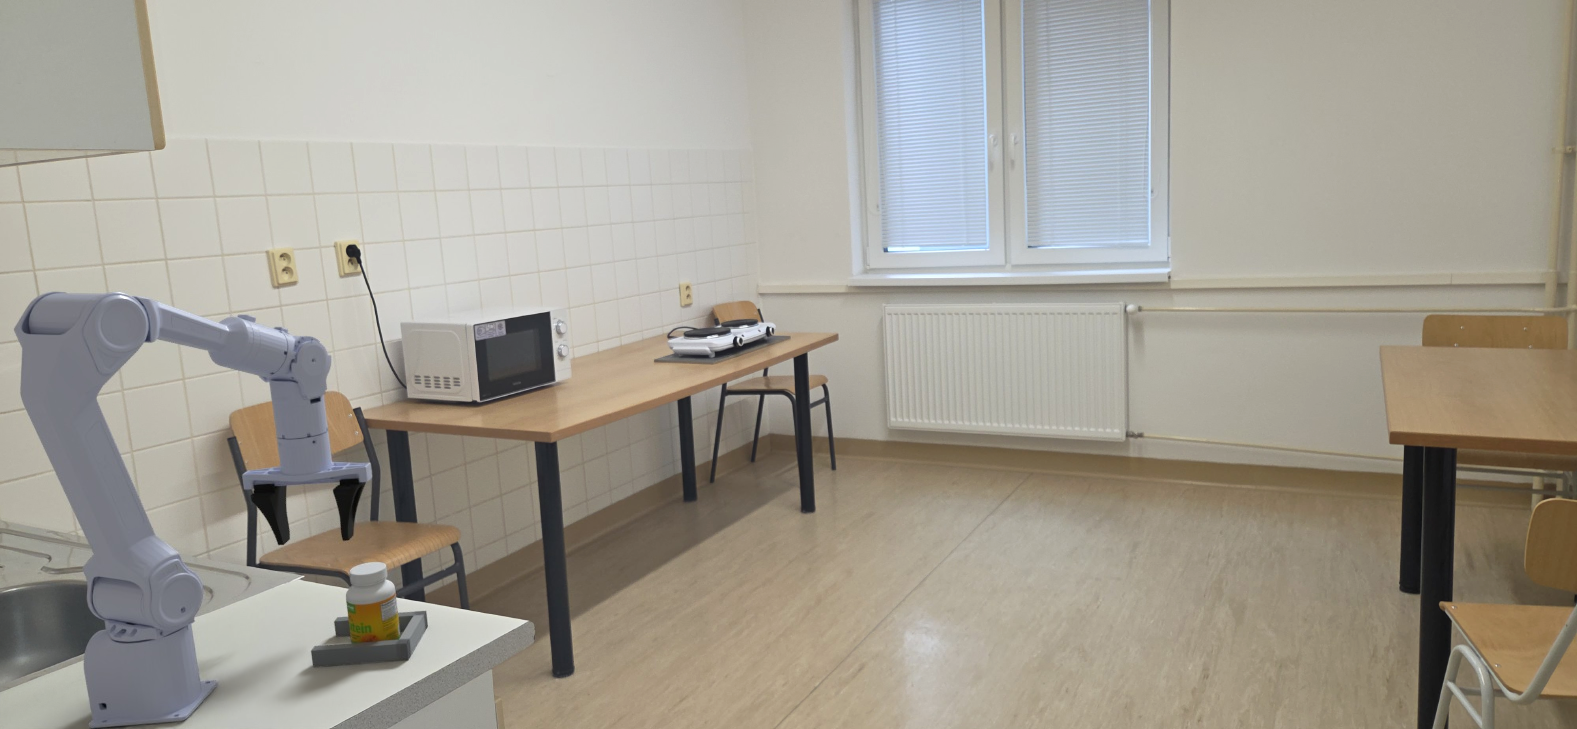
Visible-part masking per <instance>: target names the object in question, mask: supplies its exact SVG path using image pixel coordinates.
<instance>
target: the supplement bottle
mask: <svg viewBox="0 0 1577 729" xmlns="http://www.w3.org/2000/svg"><path fill="white" fill-rule="evenodd" d="M387 578H388V569H387V564H386V563H384V562H379V561H371V562H365V563H361V564H357V565H355V566H353V567H352V568H351V569H350V570H349V581H350V584H351V586H350V587H349V588H348V589H347V591H346V594H345V600H346V603H345V604H346V609H347V611H346V612H347V617H348V620H349V627H350V636H349V637H350V643H361V642H374V641H387V640H399V638H400V637H401V632H400V626H399V617H398V613H399V609H398V602H397V601H398V600H397V594H396V587H395V584H394V583H393V582H392V581H391V580H389V579H387Z"/></svg>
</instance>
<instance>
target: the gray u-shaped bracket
mask: <svg viewBox="0 0 1577 729" xmlns="http://www.w3.org/2000/svg"><path fill="white" fill-rule="evenodd" d="M427 615H428V613H427V610H416V611H405V612H398V617H399V626H400V633H401V634H400V636H401V637H400V638H399V640H387V641H374V642H361V643H351V642H349V643H337V644H325V645H314V646H313V648H312V649H311V650H310V655H311V661H312V662H311V663H312V667H313V668H321V667H332V666H334V667H335V666H347V665H360V664H371V663H385V662H398V661H399V662H400V661H409V660H410V659H411V656H412V654H413V653H414V651H415V649H416V648H417V646H418V644H419V643H420V640H421V639H422V637H423V635H424V634H425V632H426V630H427V628H428V627H429V625H428V623H429V622H428V616H427ZM333 625H334V631H335V637H336V638H339V637H341V638H342V637H343V638H344V637H351V636H350V627H349V620H348V616H338V617H336V618H335V619H334V621H333Z"/></svg>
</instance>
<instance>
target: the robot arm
mask: <svg viewBox="0 0 1577 729" xmlns="http://www.w3.org/2000/svg"><path fill="white" fill-rule="evenodd" d="M256 319H257V317H256V316H253V315H249V314H240V313H239V314H238V315H237V316H229V317H226V318H224V319H221V320H220V321H219V322H218V321H214V320H212V319H208V318H206V317H204V316H200V315H197V314H195V313H192V312H189V311H187V310H186V311H185V310H184V309H181V308H177V307H175V306H171V305H169V304H167V303H163V302H161V301H158V300H156V299H155V300H154V299H152V298H150V297H147V296H139V295H138V296H135V295H131V294H128V293H124V292H117V291H108V292H105V293H90V292H89V293H77V292H75V293H72V292H71V293H68V292H66V291H48V292H45V293H42V294H40V295H38V296H36V297H35V298H33V300H32V301H31V302H29V304H28V306H27V307H26V308H25V310H24V312H23V313H22V315H21V316H20V318H19V320H18V321H17V322H16V325H15V326H14V328H13V331H14V333H15V336H16V338H17V340H18V343H19V345H20V347H21V367H20V368H21V370H20V391H19V393H20V398H21V401H22V404H23V406H24V408H25V412H26V413H27V415H28V417H29V419H30V421H31V424H32V426H33V428H34V430H35V432H36V434H37V436H38V438H39V440H40V443H41V445H42V447H43V449H44V452H45V453H46V456H47V457H48V458H47V459H49V463H50V464H51V466H52V468H53V470H54V473H55V474H56V475H55V476H56V477H57V479H58V481H59V484H60V485H61V487H62V489H63V492H64V495H65V496H66V499H67V501H68V502H69V504H70V506H71V509H72V511H73V513H74V515H75V518H76V520H77V521H78V524H79V525H80V528H81V530H82V532H83V535H84V537H85V538H86V541H87V543H88V545H89V548H90V549H91V552H92V555H91V557H89V559H88V560H87V561H86V563H85V564H84V565H83V566H82V570H81V571H82V572H83V575H84V576H85V579H86V582H87V583H86V585H87V589H86V590H87V591H86V592H87V593H86V602H87V606H88V609H89V611H90V612H91V613H92V614H93V615H94V616H95V617H96V618H97V619H100V620H103V621H104V625H105V626H104V627H105V629H102V630H98V631H97V632H95V633H94V634H93V635H92V636H91V637H90V639H89V641H88V642H87V645H86V647H85V651H84V656H83V672H84V678H85V684H86V690H87V697H88V701H89V707H90V713H91V721H89V722H88V727H89V729H96V728H97V729H98V728H107V727H108V728H109V727H110V728H111V727H122V726H132V725H135V726H136V725H147V724H159V723H172V722H181V721H182V722H183V721H184V720H187V719H188V718H189V716H191V714H192V713H193V712H194V711H195V710H196V709H197V708H198V707H199V706H200V705H201V704H202V702H203V701H204V700H205V699H206V698H207V697H208V696H209V695H210V694H211V693H212V692H213V690H215V688H216V687H217V686H218V685H219V681H218V680H217V679H213V680H201V677H200V672H199V670H200V669H199V664H198V658H197V652H196V644H195V638H194V632H193V625H192V624H193V623H195V621H196V620H195V617H196V615H197V614H198V612H199V610H200V609H201V606H202V603H203V599H204V586H203V585H204V584H203V582H202V580H201V578H200V576H199V575H198V574H197V573H196V572H195V571H193V570H192V569H190V568H189V567H188V566H187V565H186V564H185V563H184V560H183V558H182V556H181V554H180V552H178V551H177V550H176V549H174V548H173V547H172V546H171V545H170V544H168V543H167V542H165V541H164V540H163V539H162V538H160V537H159V536H158V535H157V534H156V533H155V531H154V528H153V527H152V524H151V520H150V519H149V517H148V514H147V513H146V512H147V511H146V510H145V508H144V505H143V503H142V501H141V499H140V497H139V493H138V491H137V489H136V487H135V485H134V482H133V480H132V478H131V476H130V472H129V471H128V468H127V466H126V463H125V461H124V460H123V457H122V454H121V452H120V450H119V448H118V446H117V443H116V442H115V439H114V437H113V434H112V432H111V429H110V427H109V425H108V423H107V420H106V418H105V415H104V413H103V410H102V408H101V407H100V404H99V402H98V399H97V398H98V395H99V394H100V392H101V390H102V388H103V387H104V385H106V383H108V382H109V380H111V379H112V377H114V376H115V374H116V373H118V371H119V370H120V369H122V368H123V366H124V365H125V364H127V363H128V361H129V360H130V359H131V358H132V357H133V356H135V355H136V353H137V352H139V350H140V349H141V347H142V346H143V345H144V343H148V344H151V343H154V342H156V341H157V340H158V341H164V342H168V343H172V344H177V345H181V346H185V347H189V348H194V349H198V350H203V351H207V352H208V355H209V358H210V359H211V361H212V362H213V363H214V364H215V365H217V366H219V367H224V368H227V369H231V370H235V371H239V372H242V373H247V374H250V375H254V376H258V377H259V379H261V380H262V381H263V382H265V383H269V388H270V389H269V391H270V397H271V399H270V400H271V404H272V411H273V420H274V426H275V428H274V429H275V434H276V442H277V451H278V458H279V459H278V460H279V465H280V466H273V467H268V468H266V467H265V468H259V469H249V470H246V471H245V472H244V473H243V474H241V477H242V483H243V490H245V491H247V490H253V493H252V494H251V495H250V500H251V503H253V504H254V505H255V506H256V508H258V510H259V511H260V513H261V514H262V515H263V516H264V518H265V520H266V521H267V523H268V525H269V526H270V529H271V530H272V533H273V535H274V538H275V540H276V542H277V545H278V546H285V544H287V543H288V542H289V540H291V530H290V525H289V518H288V511H287V486H300V485H302V486H303V485H313V484H315V485H316V484H327V483H328V484H329V483H330V484H331V483H339V484H337V485H336V486H335V487H334V488H333V489H332V494H333V496H334V499H335V500H334V501H335V502H336V507H337V510H338V514H339V523H340V535H341V539H342V541H343V542H346V541H350V540H351V539H352V538H353V537H354V532H355V531H354V530H355V520H356V515H357V510H358V506H359V502H360V499H361V496H362V494H363V491H364V488H365V485H366V483H368V482H369V481H370V480H372V478H373V474H372V473H373V471H372V463H371V462H341V461H340V462H339V461H338V462H337V461H333V460H332V459H333V458H332V450H331V449H332V448H331V443H330V435H329V434H330V433H329V426H328V417H327V411H326V410H327V409H326V401H325V395H326V394H327V393H326V391H327V390H328V386H327V377H328V375H329V373H330V370H331V367H332V355H331V354H329V353H328V350H327V349H326V347H325V346H324V344H322V343H321V341H320V340H318V339H317V338H316V337H313V336H307V335H292V334H291V333H289V330H288V328H286V327H284V326H283V327H282V326H274V327H270V326H266V325H264V324H260V323H256V321H257V320H256Z"/></svg>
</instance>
